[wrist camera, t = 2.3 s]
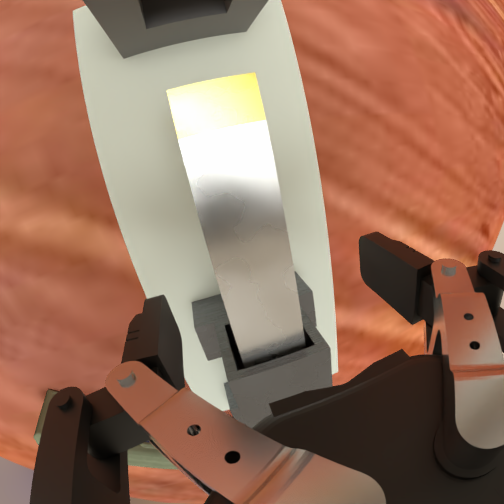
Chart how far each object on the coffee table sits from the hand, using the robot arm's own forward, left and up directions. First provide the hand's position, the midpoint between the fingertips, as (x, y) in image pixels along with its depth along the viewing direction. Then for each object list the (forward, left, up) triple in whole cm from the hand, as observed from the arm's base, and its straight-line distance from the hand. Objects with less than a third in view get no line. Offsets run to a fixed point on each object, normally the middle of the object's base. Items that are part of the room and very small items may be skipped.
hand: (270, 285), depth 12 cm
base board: (0, 0, -11) cm, 11 cm away
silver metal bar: (0, -4, -5) cm, 6 cm away
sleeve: (0, -11, -9) cm, 14 cm away
